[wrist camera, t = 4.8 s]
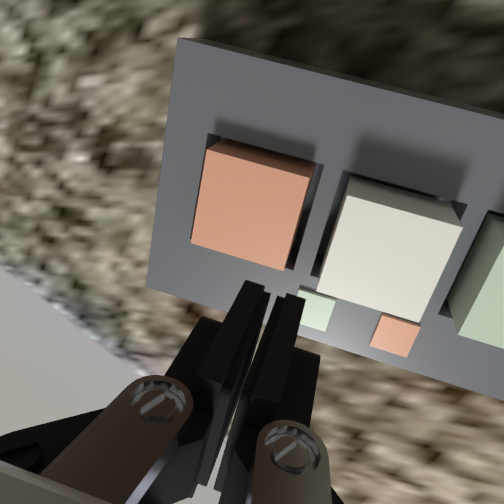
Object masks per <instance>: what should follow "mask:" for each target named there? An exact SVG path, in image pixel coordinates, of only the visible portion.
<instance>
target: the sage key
mask: <svg viewBox="0 0 504 504" xmlns="http://www.w3.org/2000/svg"><path fill="white" fill-rule="evenodd" d="M447 301H448V304H449V308H450V311H451V314H452V317H453V321H454V324H455V327H456V331H457V334H458V335H460V336H464V337H467V338H470V339H473V340H477V341H480V342H483V343H486V344H490V345H493V346H496V347H499V348H503V349H504V218H503V217H500V216H496V215H492V214H489V213H488V214H487V216H486V219H485V221H484V223H483V225H482V227H481V229H480V231H479V233H478V235H477V237H476V239H475V241H474V243H473V245H472V248H471V250H470V252H469V254H468V256H467V258H466V260H465V262H464V264H463V266H462V268H461V270H460V272H459V275H458V277H457V279H456V281H455V283H454V285H453V287H452V289H451V291H450V293H449V295H448V297H447Z"/></svg>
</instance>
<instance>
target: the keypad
mask: <svg viewBox="0 0 504 504" xmlns="http://www.w3.org/2000/svg"><path fill="white" fill-rule="evenodd" d="M224 138H229V139H232V140H236V141H239V142H243V143H247V144H250V145H254V146H258V147H261V148H265V149H269V150H272V151H276V152H280V153H283V154H287V155H291V156H294V157H298V158H302V159H305V160H309V161H312V162H316V167H315V170H314V174H313V177H312V181H311V184H310V188H309V191H308V195H307V198H306V202H305V205H304V209H303V212H302V216H301V220H300V223H299V227H298V230H297V234H296V237H295V241H294V244H293V247H292V250H291V252H290V255H289V258H288V260H287V263H286V265H285V268H284V271H281V270H278V269H274V268H271V267H268V266H265V265H261V264H258V263H255V262H251V261H248V260H245V259H242V258H238V257H235V256H232V255H228V254H225V253H222V252H219V251H215V250H212V249H209V248H205V247H202V246H199V245H196V244H192V243H191V239H192V233H193V227H194V221H195V215H196V209H197V204H198V198H199V192H200V186H201V180H202V174H203V169H204V163H205V157H206V151H207V149H208V148H210V147H211V146H213V145H214V144H216V143H218V142H219V141H221V140H222V139H224ZM350 176H354V177H358V178H361V179H365V180H369V181H372V182H376V183H380V184H383V185H387V186H390V187H394V188H398V189H401V190H405V191H409V192H412V193H416V194H420V195H423V196H427V197H430V198H434V199H438V200H441V201H445V202H449V203H451V205H452V207H453V209H454V211H455V213H456V215H457V217H458V219H459V221H460V223H461V225H462V227H463V229H462V231H461V233H460V235H459V237H458V239H457V242H456V244H455V246H454V248H453V250H452V252H451V255H450V257H449V259H448V261H447V263H446V265H445V268H444V270H443V272H442V274H441V276H440V278H439V281H438V283H437V285H436V287H435V289H434V291H433V294H432V296H431V298H430V300H429V302H428V304H427V307H426V309H425V311H424V313H423V315H422V317H421V320H420V322H419V323H418V322H415V321H411V320H408V319H405V318H402V317H398V316H395V315H392V314H389V313H385V312H382V311H379V310H376V309H372V308H369V307H366V306H363V305H359V304H356V303H353V302H350V301H346V300H343V299H340V298H337V297H333V296H330V295H327V294H323V293H320V292H317V291H316V289H317V284H318V280H319V275H320V271H321V266H322V261H323V258H324V255H325V252H326V249H327V246H328V243H329V240H330V237H331V234H332V230H333V227H334V224H335V221H336V218H337V215H338V212H339V209H340V206H341V203H342V199H343V196H344V193H345V190H346V187H347V184H348V181H349V178H350ZM488 213H489V214H492V215H496V216H500V217H503V218H504V113H500V112H496V111H492V110H488V109H484V108H480V107H476V106H472V105H468V104H464V103H460V102H456V101H452V100H448V99H444V98H440V97H436V96H432V95H428V94H424V93H420V92H416V91H412V90H408V89H404V88H400V87H396V86H392V85H388V84H384V83H380V82H376V81H372V80H368V79H364V78H360V77H356V76H352V75H348V74H344V73H340V72H336V71H332V70H328V69H324V68H320V67H316V66H312V65H308V64H304V63H300V62H296V61H292V60H288V59H284V58H280V57H276V56H272V55H268V54H264V53H260V52H256V51H252V50H248V49H244V48H240V47H236V46H232V45H228V44H224V43H220V42H216V41H212V40H208V39H198V38H177V46H176V54H175V62H174V70H173V78H172V85H171V93H170V101H169V109H168V117H167V124H166V132H165V140H164V148H163V156H162V164H161V171H160V179H159V187H158V195H157V203H156V210H155V218H154V226H153V234H152V242H151V250H150V257H149V265H148V273H147V281H146V287H149V288H152V289H155V290H158V291H162V292H165V293H168V294H171V295H174V296H177V297H180V298H183V299H187V300H190V301H193V302H196V303H199V304H202V305H205V306H208V307H212V308H215V309H218V310H221V311H224V312H227V313H228V312H229V310H230V308H231V306H232V304H233V302H234V300H235V298H236V296H237V295H238V293H239V291H240V289H241V287H242V285H243V283H244V281H245V280H249V281H252V282H255V283H258V284H261V285H264V286H265V289H264V291H265V292H268V293H271V296H270V300H269V303H268V306H267V310H266V313H265V317H264V320H263V324H265V325H266V324H267V321H268V319H269V316H270V313H271V311H272V308H273V305H274V303H275V300H276V297H277V295H278V296H281V297H284V298H285V296H286V293H289V294H292V295H295V296H298V297H302V298H305V299H306V302H305V306H304V310H303V314H302V317H301V321H300V325H299V329H298V333H297V335H299V336H302V337H306V338H309V339H312V340H315V341H318V342H321V343H324V344H327V345H331V346H334V347H337V348H340V349H343V350H346V351H349V352H352V353H356V354H359V355H362V356H365V357H368V358H371V359H374V360H378V361H381V362H384V363H387V364H390V365H393V366H396V367H399V368H403V369H406V370H409V371H412V372H415V373H418V374H421V375H424V376H428V377H431V378H434V379H437V380H440V381H443V382H446V383H450V384H453V385H456V386H459V387H462V388H465V389H468V390H471V391H475V392H478V393H481V394H484V395H487V396H490V397H493V398H496V399H500V400H503V401H504V349H503V348H499V347H496V346H493V345H490V344H486V343H483V342H480V341H477V340H473V339H470V338H467V337H464V336H460V335H458V334H457V331H456V327H455V324H454V321H453V317H452V314H451V311H450V308H449V304H448V301H447V297H448V295H449V293H450V291H451V289H452V287H453V285H454V283H455V281H456V279H457V277H458V275H459V272H460V270H461V268H462V266H463V264H464V262H465V260H466V258H467V256H468V254H469V252H470V250H471V248H472V245H473V243H474V241H475V239H476V237H477V235H478V233H479V231H480V229H481V227H482V225H483V223H484V221H485V219H486V216H487V214H488Z"/></svg>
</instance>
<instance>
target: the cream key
mask: <svg viewBox="0 0 504 504" xmlns="http://www.w3.org/2000/svg"><path fill="white" fill-rule="evenodd" d="M462 229H463V227H462V225H461V223H460V221H459V219H458V217H457V215H456V213H455V211H454V209H453V207H452V205H451V203H449V202H445V201H441V200H438V199H434V198H430V197H427V196H423V195H420V194H416V193H412V192H409V191H405V190H401V189H398V188H394V187H390V186H387V185H383V184H380V183H376V182H372V181H369V180H365V179H361V178H358V177H354V176H350V178H349V181H348V184H347V187H346V190H345V193H344V196H343V199H342V203H341V206H340V209H339V212H338V215H337V218H336V221H335V224H334V227H333V230H332V234H331V237H330V240H329V243H328V246H327V249H326V252H325V255H324V258H323V261H322V266H321V271H320V275H319V280H318V284H317V289H316V291H317V292H320V293H323V294H327V295H330V296H333V297H337V298H340V299H343V300H346V301H350V302H353V303H356V304H359V305H363V306H366V307H369V308H372V309H376V310H379V311H382V312H385V313H389V314H392V315H395V316H398V317H402V318H405V319H408V320H411V321H415V322H418V323H419V322H420V320H421V317H422V315H423V313H424V311H425V309H426V307H427V304H428V302H429V300H430V298H431V296H432V294H433V291H434V289H435V287H436V285H437V283H438V281H439V278H440V276H441V274H442V272H443V270H444V268H445V265H446V263H447V261H448V259H449V257H450V255H451V252H452V250H453V248H454V246H455V244H456V242H457V239H458V237H459V235H460V233H461V231H462Z"/></svg>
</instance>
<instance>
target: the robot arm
mask: <svg viewBox="0 0 504 504" xmlns="http://www.w3.org/2000/svg"><path fill="white" fill-rule="evenodd" d="M264 289H265V286H264V285H261V284H258V283H255V282H252V281H249V280H245V281H244V283H243V285H242V287H241V289H240V291H239V293H238V295H237V296H236V298H235V300H234V302H233V304H232V306H231V308H230V310H229V312H228V313H227V315H226V317H225V319H224V321H223V323H222V322H219V321H216V320H213V319H210V318H207V317H204V316H202V317H201V318H200V319H199V321H198V322H197V324H196V326H195V327H194V329H193V330H192V332H191V334H190V335H189V337H188V338H187V340H186V342H185V343H184V345H183V346H182V348H181V350H180V351H179V353H178V354H177V356H176V358H175V359H174V361H173V363H172V364H171V366H170V367H169V369H168V371H167V372H166V374H165V375H164V376H161V375H151V376H145V377H142V378H140V379H137V380H135V381H134V382H132V383H131V384H130V385H128V386H127V387H126V388H125V389H124V390H123V391H122V392H121V393H120V394H119V395H118V396H117V397H116V398H115V399H114V400H113V401H112V402H111V403H110V404H109V405H108V406H107V407H106V408H104V409H100V410H96V411H92V412H88V413H84V414H80V415H77V416H73V417H69V418H65V419H61V420H57V421H53V422H49V423H46V424H41V425H37V426H34V427H29V428H26V429H22V430H18V431H14V432H11V433H8V434H5V435H3V436H0V504H173V503H175V502H178V501H180V500H183V499H185V498H188V497H190V498H192V497H193V494H194V492H195V489H196V487H197V484H201V485H203V486H207V483H208V480H209V478H210V475H211V473H212V470H213V467H214V465H215V462H216V459H217V457H218V454H219V451H220V448H221V446H222V443H223V440H224V438H225V435H226V432H227V430H228V427H229V424H230V422H231V419H232V416H233V413H234V411H235V408H236V405H237V403H238V405H237V409H236V412H235V416H234V419H233V423H232V426H231V430H230V433H229V436H228V440H227V443H226V447H225V450H224V454H223V457H222V461H221V464H220V468H219V471H218V475H217V478H216V482H215V485H214V490H216V491H219V492H222V493H221V496H220V500H219V503H218V504H344V503H343V502H342V500H341V499H340V498H339V496H338V495H337V494H336V492H335V491H334V489H333V488H332V487H331V484H330V471H329V457H328V453H327V449H326V447H325V445H324V443H323V441H322V440H321V438H320V437H319V436H318V435H317V434H316V433H315V432H314V431H313V430H311V429H310V428H309V427H310V420H311V414H312V408H313V402H314V395H315V389H316V383H317V377H318V370H319V364H320V355H317V354H314V353H311V352H308V351H306V350H303V349H300V348H297V347H294V345H295V341H296V337H297V333H298V329H299V325H300V321H301V317H302V314H303V310H304V306H305V302H306V299H305V298H302V297H298V296H295V295H292V294H289V293H286V296H285V298H284V297H281V296H278V295H277V297H276V300H275V303H274V305H273V308H272V311H271V313H270V316H269V319H268V321H267V324H266V327H265V329H264V332H263V335H262V338H261V340H260V343H259V346H258V348H257V351H256V354H255V356H254V359H253V362H252V358H253V355H254V351H255V348H256V344H257V341H258V338H259V334H260V331H261V327H262V324H263V320H264V317H265V313H266V310H267V306H268V303H269V300H270V296H271V293H268V292H265V291H264ZM251 362H252V364H251ZM250 365H251V367H250ZM249 369H250V370H249ZM239 397H240V398H239ZM238 400H239V402H238Z"/></svg>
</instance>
